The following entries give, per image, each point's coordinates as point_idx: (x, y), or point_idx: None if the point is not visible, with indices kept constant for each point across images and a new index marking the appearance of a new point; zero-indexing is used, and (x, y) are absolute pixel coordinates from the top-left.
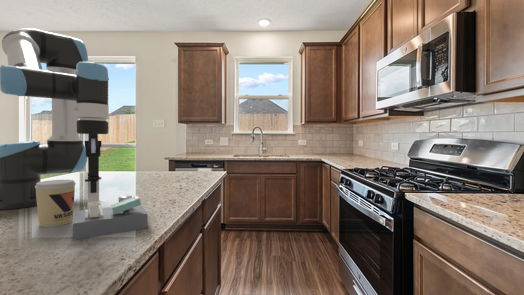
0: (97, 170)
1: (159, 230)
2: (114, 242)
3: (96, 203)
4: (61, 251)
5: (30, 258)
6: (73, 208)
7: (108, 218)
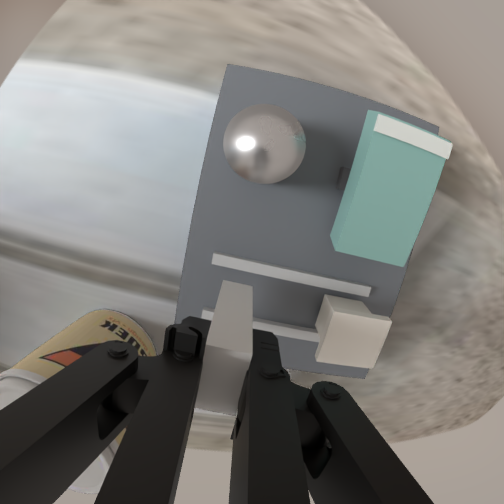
0: (380, 448)
1: (455, 123)
2: (455, 266)
3: (385, 337)
4: (410, 375)
5: (395, 417)
6: (97, 327)
7: (400, 273)
